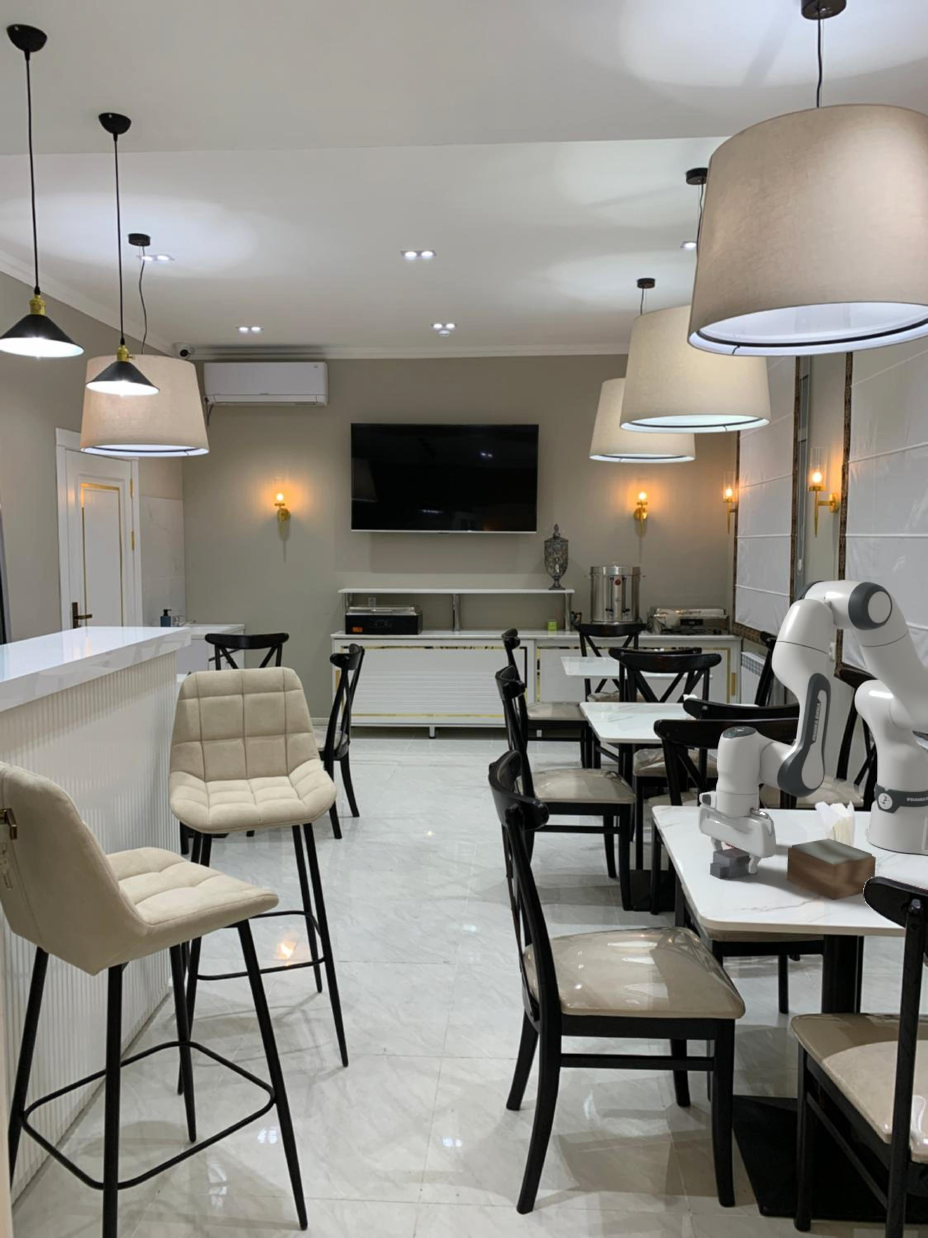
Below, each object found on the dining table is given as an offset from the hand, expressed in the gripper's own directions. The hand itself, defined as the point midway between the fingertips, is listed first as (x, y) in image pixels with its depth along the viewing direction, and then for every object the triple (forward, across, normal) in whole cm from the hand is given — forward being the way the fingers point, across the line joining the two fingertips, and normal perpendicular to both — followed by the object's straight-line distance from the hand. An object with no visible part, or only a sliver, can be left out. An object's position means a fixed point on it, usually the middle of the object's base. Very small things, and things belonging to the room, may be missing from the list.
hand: (735, 865), depth 192 cm
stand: (+2, -14, -13) cm, 19 cm away
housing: (+2, 0, 0) cm, 2 cm away
